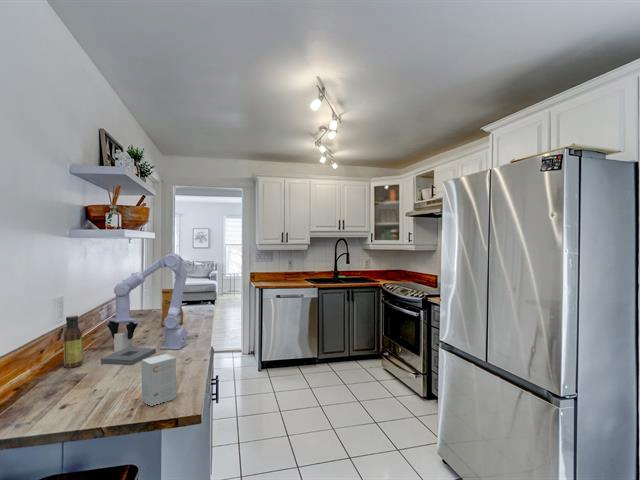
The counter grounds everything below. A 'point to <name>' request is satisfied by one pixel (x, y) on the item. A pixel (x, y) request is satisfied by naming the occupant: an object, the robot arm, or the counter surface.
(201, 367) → the counter surface
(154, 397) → the small box
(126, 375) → the counter surface
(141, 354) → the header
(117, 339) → the plug
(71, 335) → the sauce bottle
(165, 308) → the coffee package
